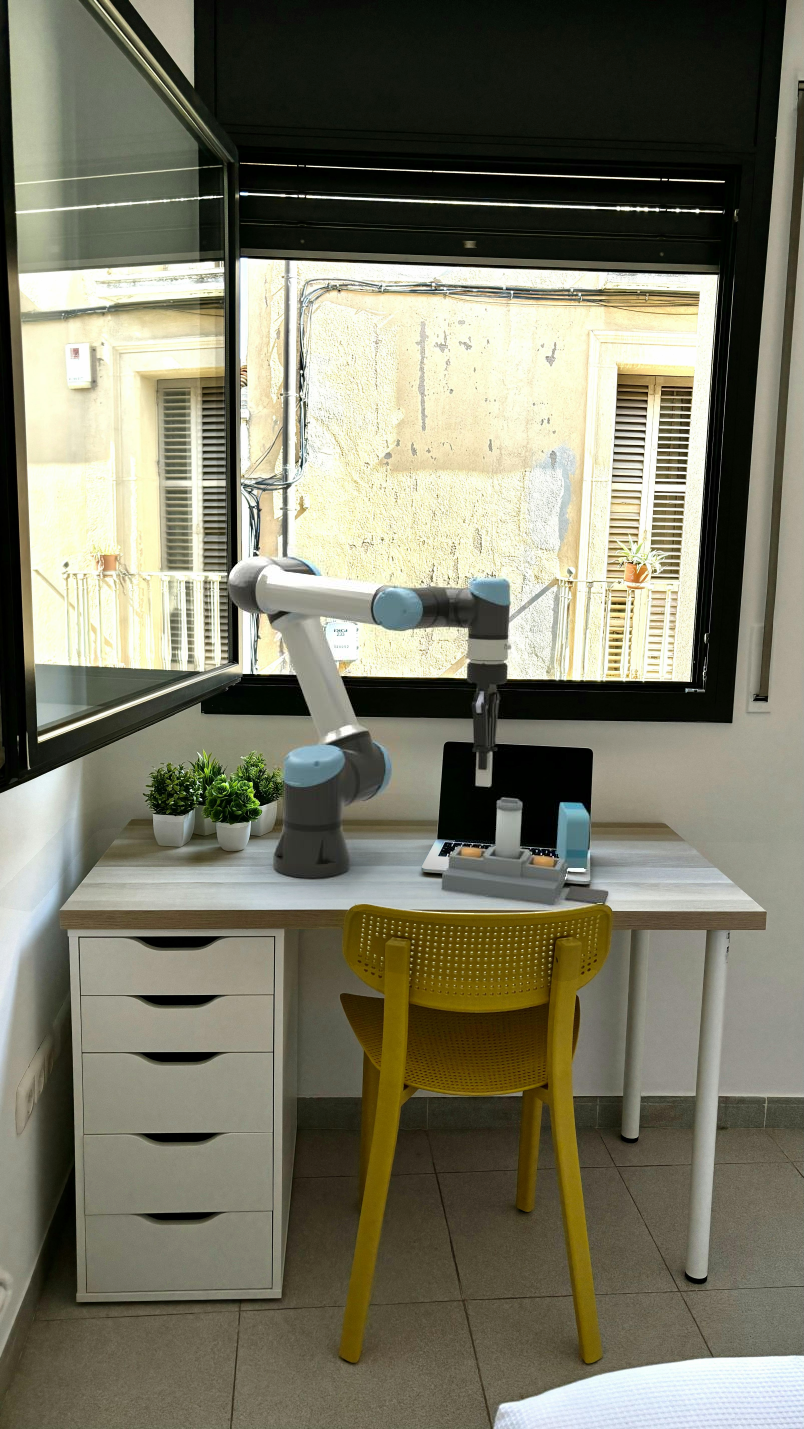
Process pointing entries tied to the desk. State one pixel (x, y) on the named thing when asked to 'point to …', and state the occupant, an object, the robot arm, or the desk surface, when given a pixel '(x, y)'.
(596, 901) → the mat
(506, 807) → the cylinder
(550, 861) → the plunger right
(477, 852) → the plunger left
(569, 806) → the data package
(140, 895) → the desk surface
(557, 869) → the housing
